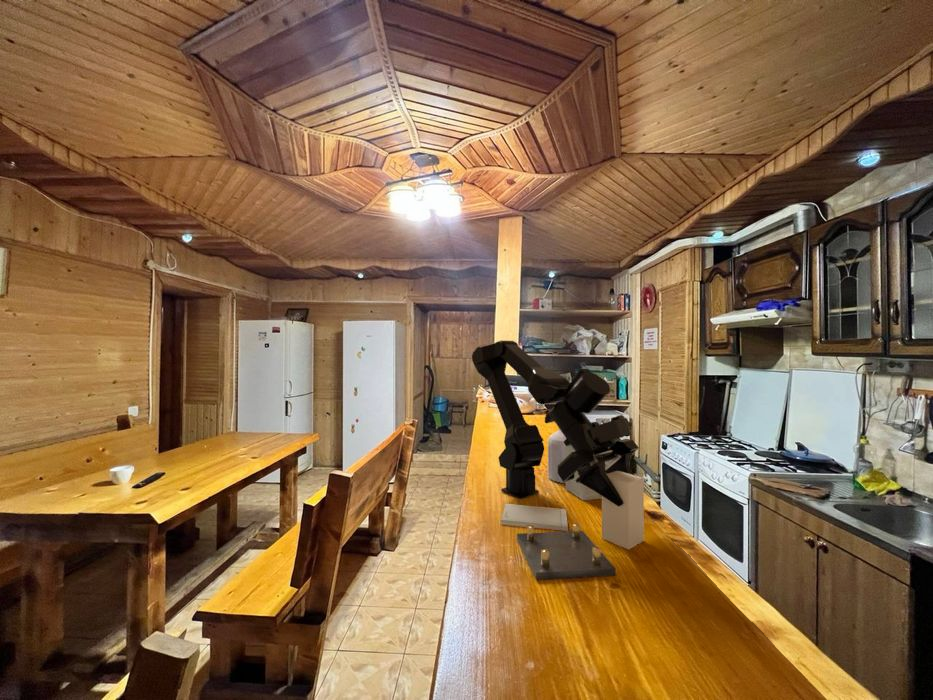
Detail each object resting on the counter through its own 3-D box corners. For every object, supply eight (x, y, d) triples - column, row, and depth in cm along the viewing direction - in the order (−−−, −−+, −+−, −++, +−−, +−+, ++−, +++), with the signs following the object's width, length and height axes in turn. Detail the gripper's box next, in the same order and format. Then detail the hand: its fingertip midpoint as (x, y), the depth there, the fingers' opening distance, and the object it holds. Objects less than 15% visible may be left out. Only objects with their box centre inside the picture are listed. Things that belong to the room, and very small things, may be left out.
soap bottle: (555, 471, 105) (555, 383, 106) (588, 477, 100) (587, 385, 101) (542, 479, 98) (542, 385, 99) (576, 486, 93) (576, 387, 93)
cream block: (601, 538, 67) (601, 475, 67) (617, 530, 70) (617, 470, 70) (628, 549, 63) (628, 483, 63) (643, 540, 66) (643, 477, 66)
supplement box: (564, 489, 91) (564, 437, 91) (591, 487, 93) (591, 435, 93) (581, 501, 84) (581, 444, 84) (610, 498, 86) (610, 442, 86)
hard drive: (500, 519, 72) (567, 525, 69) (505, 502, 80) (565, 507, 77) (500, 527, 72) (568, 534, 69) (505, 510, 80) (565, 515, 77)
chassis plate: (516, 539, 66) (516, 522, 66) (582, 536, 67) (582, 519, 67) (535, 579, 54) (535, 558, 54) (615, 575, 55) (615, 554, 55)
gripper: (570, 405, 64) (633, 488, 55) (628, 398, 75) (688, 466, 66) (535, 443, 70) (587, 523, 61) (594, 431, 82) (644, 497, 73)
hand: (630, 501), depth 65 cm, fingers open, 5 cm apart
